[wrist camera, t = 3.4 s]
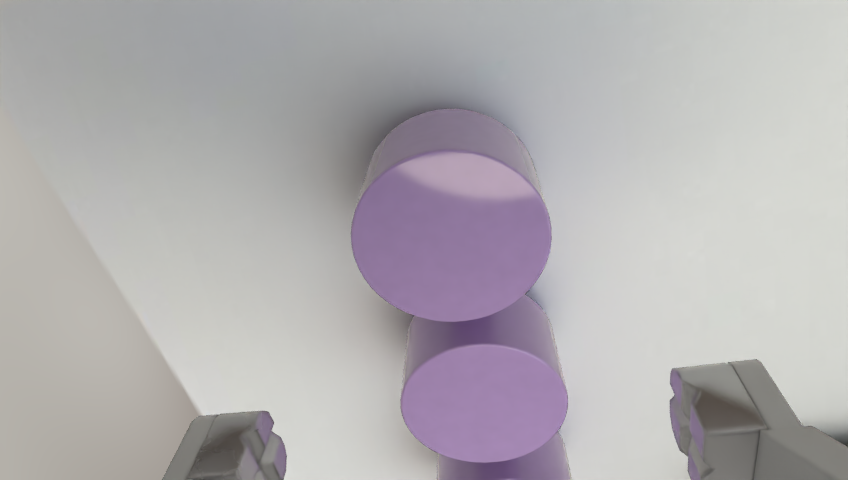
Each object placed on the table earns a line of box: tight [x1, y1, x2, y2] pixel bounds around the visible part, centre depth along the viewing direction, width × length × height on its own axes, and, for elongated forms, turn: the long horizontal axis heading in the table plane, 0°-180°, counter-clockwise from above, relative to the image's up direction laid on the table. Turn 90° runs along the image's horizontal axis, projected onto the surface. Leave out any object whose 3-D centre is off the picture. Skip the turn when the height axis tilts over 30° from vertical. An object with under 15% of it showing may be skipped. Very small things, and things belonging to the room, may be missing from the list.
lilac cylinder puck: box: [400, 294, 568, 463], centre depth 23 cm, size 6×6×5 cm
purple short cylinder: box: [437, 432, 572, 480], centre depth 26 cm, size 6×6×5 cm
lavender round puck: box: [351, 109, 552, 322], centre depth 19 cm, size 6×6×5 cm
